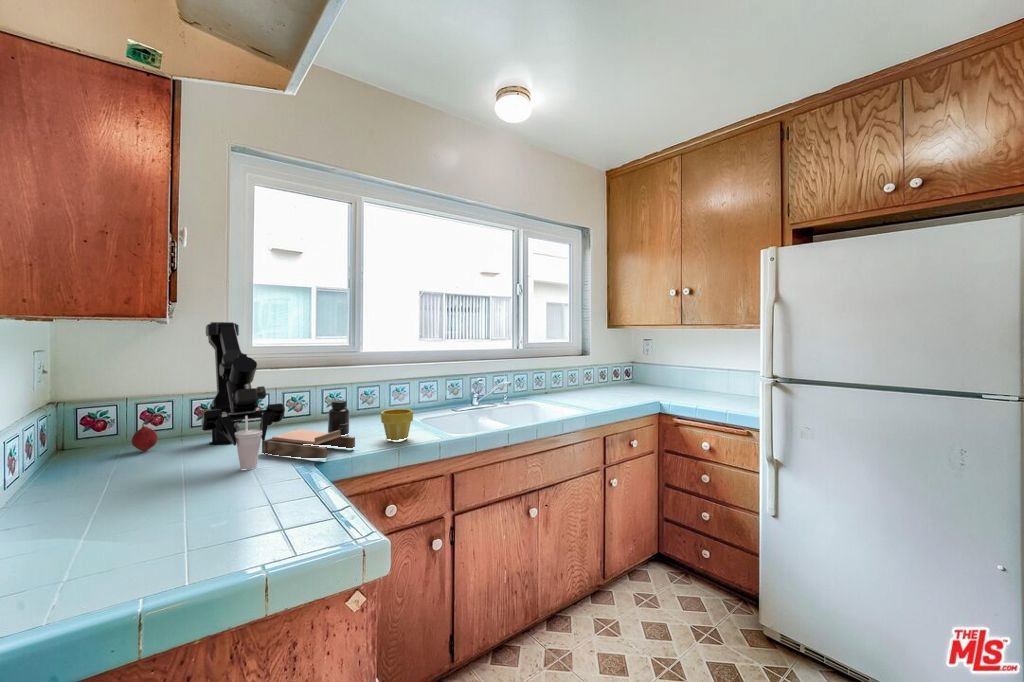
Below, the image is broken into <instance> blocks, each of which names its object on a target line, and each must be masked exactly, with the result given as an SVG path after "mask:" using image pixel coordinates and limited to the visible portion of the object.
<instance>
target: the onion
mask: <svg viewBox="0 0 1024 682" xmlns="http://www.w3.org/2000/svg"><path fill="white" fill-rule="evenodd" d="M158 439H159V438H158V433H157V432H156V431H155V429H152V428H150V427H148V426H147V425H146V424H142V426H141V428H139V429H138V430H137V431H136V432H135V433H134V434H133V435H132V436H131V444H132V446H133V447H134V448H136V449H137V450H138V451H141V452H144V453H146V452H147V451H149V450H150V449H152V448H153V447H154V446H155V445H156V444H157V442H158Z"/></svg>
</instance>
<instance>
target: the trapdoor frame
mask: <svg viewBox="0 0 1024 682" xmlns="http://www.w3.org/2000/svg"><path fill="white" fill-rule="evenodd" d="M318 445H331V446H338V447H346V448H353V447H355V448H356V436H355V437H354V436H349V435H348V436H341V437H338V438H335V439H332V440H329V441H326V442H323V443H321V444H318ZM262 453H264V454H265V453H268V454H272V455H279V456H291V457H301V458H326V457H327V458H328V448H327V447H319V446H311V445H303V444H295V443H286V442H278V441H275V440H272V437H271V438H268V439H265V441H262V440H261V454H262ZM268 454H267V455H268Z"/></svg>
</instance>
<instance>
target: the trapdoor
mask: <svg viewBox="0 0 1024 682" xmlns="http://www.w3.org/2000/svg"><path fill="white" fill-rule="evenodd" d="M338 437H341V430H337V431H334V432H331V433H328V432H324V431H317V430H316V431H314V430H307V429H295V430H293V431H289V432H285V433H281V434H279V435H275V436H272V437H271V438H272V440H275V441H278V442H286V443H295V444H313V445H318V444H321V443H323V442H326V441H329V440H332V439H335V438H338Z"/></svg>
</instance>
